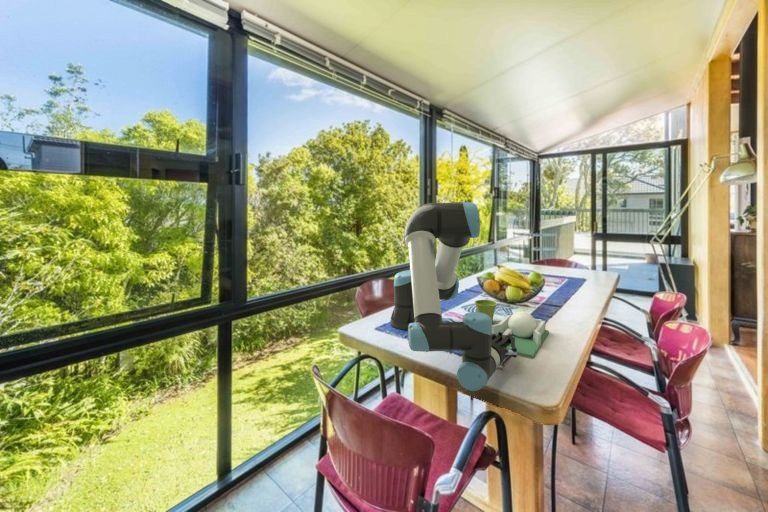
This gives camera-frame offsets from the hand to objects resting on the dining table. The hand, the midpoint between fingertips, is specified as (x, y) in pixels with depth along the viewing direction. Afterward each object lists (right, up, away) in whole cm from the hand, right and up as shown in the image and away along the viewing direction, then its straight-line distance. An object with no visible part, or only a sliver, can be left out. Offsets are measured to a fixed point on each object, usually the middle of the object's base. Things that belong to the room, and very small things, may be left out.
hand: (509, 332), depth 120 cm
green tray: (+7, -5, +10) cm, 13 cm away
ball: (+9, 0, +12) cm, 15 cm away
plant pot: (+1, -2, +31) cm, 31 cm away
